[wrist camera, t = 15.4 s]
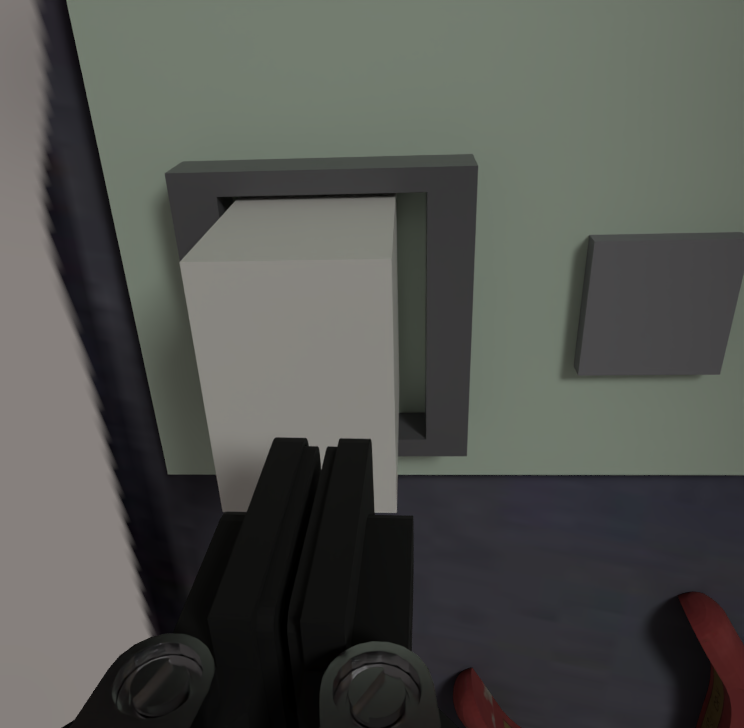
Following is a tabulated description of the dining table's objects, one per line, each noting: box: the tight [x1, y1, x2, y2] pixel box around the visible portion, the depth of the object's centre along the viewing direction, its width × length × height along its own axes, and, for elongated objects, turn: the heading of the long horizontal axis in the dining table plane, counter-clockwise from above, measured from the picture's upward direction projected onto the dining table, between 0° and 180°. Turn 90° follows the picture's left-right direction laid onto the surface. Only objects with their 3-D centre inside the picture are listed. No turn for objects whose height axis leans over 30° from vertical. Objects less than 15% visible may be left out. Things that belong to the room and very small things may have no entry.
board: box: [66, 0, 744, 475], centre depth 17 cm, size 20×22×2 cm
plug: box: [179, 193, 399, 513], centre depth 17 cm, size 4×7×6 cm, turn 2°
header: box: [165, 154, 478, 456], centre depth 19 cm, size 8×9×2 cm
